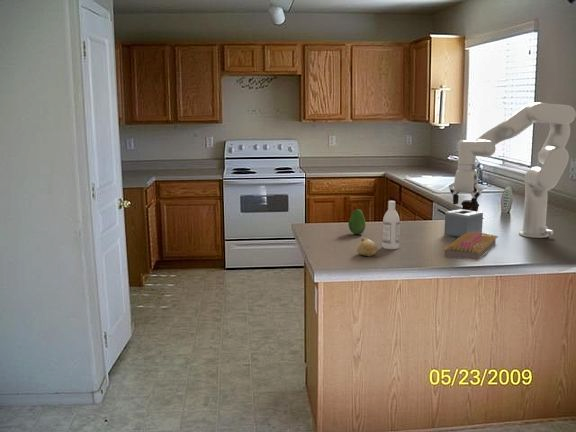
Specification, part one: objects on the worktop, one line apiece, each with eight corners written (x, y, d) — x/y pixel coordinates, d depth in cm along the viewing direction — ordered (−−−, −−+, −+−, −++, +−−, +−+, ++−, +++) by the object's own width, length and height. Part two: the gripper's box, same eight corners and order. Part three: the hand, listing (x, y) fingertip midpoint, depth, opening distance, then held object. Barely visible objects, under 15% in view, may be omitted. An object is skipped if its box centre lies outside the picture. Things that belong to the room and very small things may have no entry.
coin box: (481, 235, 279) (483, 212, 277) (466, 239, 271) (468, 215, 269) (459, 231, 288) (460, 209, 286) (444, 235, 280) (445, 211, 278)
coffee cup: (458, 227, 298) (459, 201, 296) (461, 224, 306) (463, 199, 303) (476, 229, 294) (477, 202, 292) (479, 226, 302) (480, 200, 299)
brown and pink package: (479, 262, 234) (480, 246, 233) (442, 257, 242) (442, 242, 241) (497, 244, 264) (498, 230, 263) (464, 240, 271) (465, 227, 270)
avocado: (366, 233, 286) (367, 208, 283) (364, 236, 278) (364, 210, 276) (349, 232, 288) (350, 207, 286) (346, 235, 280) (347, 210, 278)
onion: (374, 252, 248) (375, 235, 247) (378, 257, 240) (378, 240, 239) (355, 253, 248) (355, 236, 246) (358, 257, 240) (358, 240, 239)
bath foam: (396, 245, 260) (397, 199, 256) (400, 249, 253) (402, 202, 250) (380, 246, 259) (381, 199, 256) (384, 249, 252) (385, 202, 249)
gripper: (488, 168, 270) (485, 206, 273) (454, 165, 283) (453, 202, 286) (478, 169, 265) (476, 208, 268) (445, 166, 278) (443, 203, 281)
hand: (464, 205), depth 277 cm, fingers open, 9 cm apart
